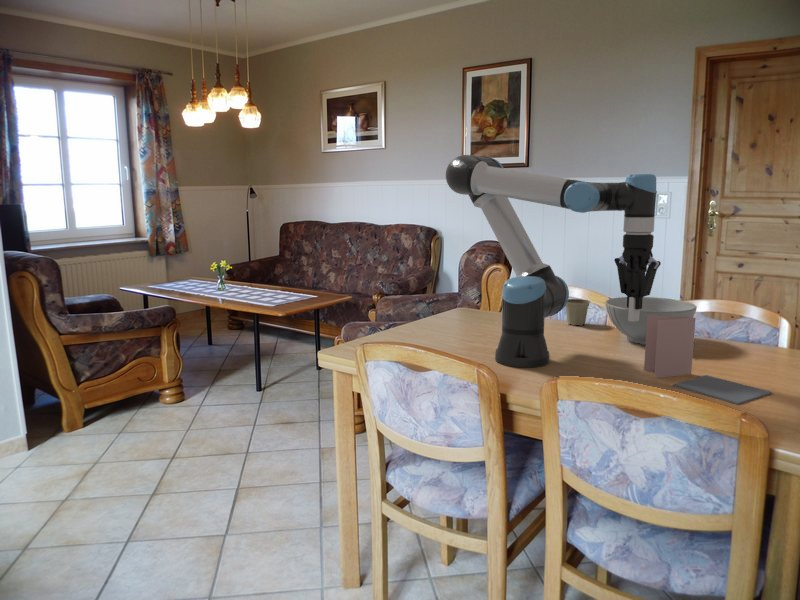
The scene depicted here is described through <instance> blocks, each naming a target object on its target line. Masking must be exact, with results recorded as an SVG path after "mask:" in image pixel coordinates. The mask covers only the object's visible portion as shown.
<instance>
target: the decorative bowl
mask: <svg viewBox="0 0 800 600" xmlns="http://www.w3.org/2000/svg"><path fill="white" fill-rule="evenodd" d="M604 304H605V309H606V313H607V315H608V317H609V320H610V321H611V322H612V324H613V325H614V327H615V328H616V329H617V330H618V331H619V332H620V333H621V334H623V335H625V336H626V339H628V340H627V341H629V342H630V343H634V342H635V343H634V344H638V343H640V345H645V344H646V330H647V315H653V316H673V317H693V318H694V316H695V314H696V311H697V308H698V307H697V305H696V304H694V303H691V302H689V301H685V300H679V299H672V298H666V297H654V296H653V297H652V296H644V297H643V301H642V309H640V315H639V321H633V322H632V321H628V312H629V308H627V296H621V297H620V296H619V297H613V298H608V299H606V300H605V303H604Z"/></svg>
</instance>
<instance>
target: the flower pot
mask: <svg viewBox="0 0 800 600" xmlns="http://www.w3.org/2000/svg"><path fill="white" fill-rule="evenodd" d="M590 303H591V301H590V300H588V299H585V298H584V299H582V298H569V299H568V302H567V304H566V306H565V314H566V315H565V316H566V323H568V325H569V324H571V325H572V326H574V325H581V326H584V325H583V324H585V325H586V321H587V316H588V309H589V307H590Z"/></svg>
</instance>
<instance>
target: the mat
mask: <svg viewBox="0 0 800 600" xmlns="http://www.w3.org/2000/svg"><path fill="white" fill-rule="evenodd" d="M672 386H673V387H675V388H679V389H683V390H686V391H689V392H693V393H696V394H699V395H702V396H706V397H710V398H713V399H717V400H720V401H725V402H726V403H727V402H728V403H731V404H733V405H737V406H738V405H741V404H744V403H748V402H750V401H753V400H756V399H759V398H762V397H766V396H768V395H772V394H773V392H772V391H770V390H766V389H762V388H759V387H754V386H751V385H747V384H744V383H743V384H742V383H738V382H734V381H731V380H727V379H725V378H724V379H722V378H720V377H715V376H712V375H708V374H706V375H701V376H698V377H695V378H691V379H687V380H684V381H679V382H676V383H673V384H672ZM771 393H772V394H771Z"/></svg>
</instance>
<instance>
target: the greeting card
mask: <svg viewBox="0 0 800 600" xmlns="http://www.w3.org/2000/svg"><path fill="white" fill-rule="evenodd" d="M695 329H696V317H694V316H693V317H673V316H653V315H647V330H646V345H644V346H645V347H644V350H645V351H644V362H643V364H644V365H643V370H644V371H645V372H646V371H647V372H654V375H653V376H654V378H653V379H659V378H668V377H677V376H685V375H686V374H688V375H692V370H693V369H692V368H693V366H692V365H693V355H694V343H695ZM686 376H687V375H686Z"/></svg>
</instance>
